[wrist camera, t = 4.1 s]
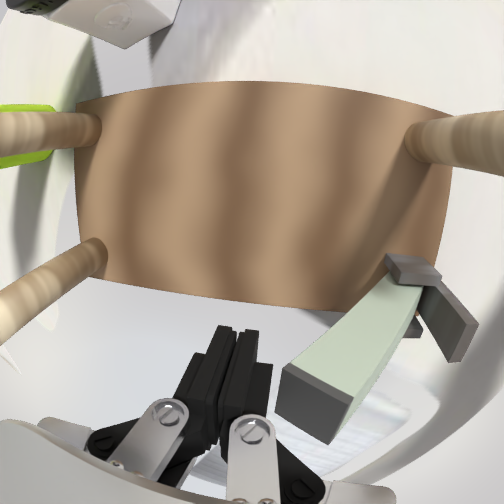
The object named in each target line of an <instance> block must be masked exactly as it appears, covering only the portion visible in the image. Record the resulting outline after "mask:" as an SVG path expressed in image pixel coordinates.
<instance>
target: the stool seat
mask: <svg viewBox="0 0 504 504" xmlns="http://www.w3.org/2000/svg"><path fill="white" fill-rule="evenodd" d="M65 148H74V170H75V190H76V191H75V192H76V205H77V216H78V225H79V233H80V241H81V243H80V244H78V245H77V246H75V247H73V248H71V249H69V250H68V251H66V252H64V253H62V254H60V255H59V256H57V257H55V258H53V259H51V260H50V261H48V262H46V263H44V264H43V265H41V266H39V267H38V268H36V269H34V270H33V271H31V272H29V273H28V274H26V275H24V276H23V277H21V278H19V279H18V280H16V281H15V282H13V283H12V284H10V285H8V286H7V287H5V288H4V289H2V290H1V291H0V346H1V345H2V344H3V343H4V342H6V341H7V340H8V339H9V338H10V337H11V336H13V335H14V334H15V333H16V332H17V331H18V330H20V329H21V328H22V327H23V326H25V325H26V324H27V323H28V322H29V321H31V320H32V319H33V318H34V317H36V316H37V315H38V314H39V313H41V312H42V311H43V310H45V309H46V308H47V307H48V306H50V305H51V304H52V303H54V302H55V301H56V300H57V299H59V298H60V297H61V296H63V295H64V294H65V293H67V292H68V291H70V290H71V289H72V288H74V287H75V286H76V285H78V284H79V283H80V282H82V281H83V280H85V279H86V278H87V277H93V278H97V279H102V280H107V281H112V282H117V283H122V284H128V285H133V286H139V287H145V288H150V289H157V290H162V291H169V292H175V293H182V294H188V295H194V296H202V297H208V298H215V299H223V300H230V301H238V302H246V303H254V304H263V305H272V306H282V307H291V308H301V309H312V310H323V311H336V312H349V311H350V310H351V309H352V308H353V307H354V306H355V305H356V304H357V303H358V302H359V301H360V300H361V299H362V298H363V297H364V296H365V295H366V294H367V293H368V292H369V291H370V290H371V289H372V288H373V287H374V286H375V285H376V284H377V283H378V282H379V281H380V280H381V279H382V278H383V277H384V276H385V275H386V274H387V273H388V272H389V271H390V272H391V273H392V274H393V276H394V277H395V279H396V280H397V282H398V283H400V284H413V285H424V286H423V290H422V293H421V296H420V299H419V302H418V305H417V308H416V311H415V314H414V316H413V318H412V320H411V322H410V324H409V326H408V328H407V330H406V332H405V334H404V335H403V337H402V338H420V337H421V335H422V332H423V328H422V326H421V324H420V323H419V321H418V319H417V318H416V316H419V314H420V316H421V317H422V319H423V321H424V322H425V324H426V325H427V327H428V329H429V330H430V332H431V334H432V335H433V337H434V339H435V340H436V342H437V344H438V346H439V347H440V349H441V351H442V353H443V354H444V356H445V358H446V360H447V362H448V363H452V362H461V360H462V358H463V356H464V354H465V352H466V351H467V349H468V347H469V345H470V343H471V340H472V338H473V336H474V334H475V332H476V330H477V328H478V325H479V323H478V322H477V321H476V320H475V318H474V317H473V316H472V315H471V314H470V313H469V311H468V310H467V309H466V308H465V307H464V306H463V304H462V303H461V302H460V301H459V300H458V299H457V298H456V296H455V295H454V294H453V293H452V292H451V291H450V290H449V289H448V288H447V287H446V285H445V284H444V283H443V282H442V281H441V279H442V275H441V274H440V273H439V272H438V271H437V270H436V269H435V268H434V265H435V261H436V257H437V254H438V249H439V245H440V241H441V237H442V232H443V227H444V222H445V217H446V211H447V206H448V199H449V193H450V185H451V177H452V168H453V166H454V167H460V168H465V169H470V170H476V171H481V172H485V173H490V174H495V175H499V176H503V177H504V110H502V111H492V112H483V113H474V114H467V115H460V116H452V115H449V114H446V113H444V112H441V111H437V110H434V109H431V108H428V107H425V106H421V105H418V104H414V103H410V102H407V101H403V100H399V99H395V98H391V97H386V96H382V95H377V94H372V93H367V92H362V91H356V90H350V89H344V88H337V87H329V86H321V85H312V84H302V83H288V82H268V81H222V82H202V83H189V84H179V85H170V86H162V87H154V88H147V89H141V90H135V91H130V92H125V93H119V94H114V95H110V96H105V97H101V98H97V99H93V100H89V101H85V102H81V103H78V104H76V113H70V112H1V113H0V158H2V157H8V156H13V155H19V154H25V153H32V152H39V151H47V150H55V149H65Z"/></svg>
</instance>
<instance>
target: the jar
mask: <svg viewBox="0 0 504 504" xmlns="http://www.w3.org/2000/svg"><path fill="white" fill-rule="evenodd" d="M180 1H181V0H6V4H7V7H8V8H10V9H13V10H17V11H20V13H24V14H33V15H41V16H42V17H44V18H46V19H47V20H50V21H53V22H56V23H59V24H62V25H65V26H68V27H71V28H74V29H76V30H79V31H82V32H84V33H87V34H89V35H92V36H94V37H97V38H100V39H102V40H104V41H107V42H109V43H111V44H114V45H116V46H118V47H120V48H122V49H127V48H129V47H130V46H132V45H133V44H135V43H137V42H138V41H140V40H142V39H144V38H146V37H147V36H149V35H151V34H153V33H155V32H157V31H159V30H161V29H163V28H165V27H167V26H169V25H171V24H172V23H173V21H174V18H175V15H176V12H177V10H178V7H179V4H180Z"/></svg>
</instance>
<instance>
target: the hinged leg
mask: <svg viewBox="0 0 504 504" xmlns="http://www.w3.org/2000/svg"><path fill="white" fill-rule="evenodd" d="M423 286H424V285H413V284H400V283H398V282H397V280H396V279H395V277H394V276H393V274H392V273H391V272H390V271H389V272H388V273H387V274H386V275H385V276H384V277H383V278H382V279H381V280H380V281H379V282H378V283H377V284H376V285H375V286H374V287H373V288H372V289H371V290H370V291H369V292H368V293H367V294H366V295H365V296H364V297H363V298H362V299H361V300H360V301H359V302H358V303H357V304H356V305H355V306H354V307H353V308H352V309H351V310H350V311H349V312H348V313H346V314H345V315H344V316H343V317H342V318H341V319H340V320H339V321H338V322H337V323H336V324H334V325H333V326H332V327H331V328H330V329H329V330H328V331H327V332H325V333H324V334H323V335H322V336H321V337H320V338H319V339H317V340H316V341H315V342H314V343H313V344H312V345H310V346H309V347H308V348H307V349H306V350H305V351H303V352H302V353H301V354H300V355H298V356H297V357H296V358H295V359H293V360H292V361H291V362H290V363H288V364H287V365H286V366H285V367H283V368H282V374H281V380H280V385H279V390H278V396H277V401H276V407H275V413H276V414H278V415H279V416H281V417H282V418H284V419H285V420H287V421H288V422H290V423H292V424H293V425H295V426H296V427H298V428H300V429H301V430H303V431H304V432H306V433H308V434H309V435H311V436H313V437H314V438H316V439H318V440H320V441H321V442H323V443H325V444H327V445H329V444H330V443H331V441H332V440H333V439H334V438H335V437H336V435H337V434H338V433H339V432H340V430H341V429H342V428H343V427H344V425H345V424H346V423H347V421H348V420H349V419H350V418H351V416H352V415H353V414H354V412H355V411H356V410H357V408H358V407H359V405H360V404H361V403H362V401H363V400H364V398H365V397H366V396H367V394H368V393H369V391H370V390H371V388H372V387H373V385H374V384H375V382H376V381H377V379H378V378H379V376H380V374H381V373H382V371H383V370H384V368H385V367H386V365H387V363H388V362H389V360H390V358H391V357H392V355H393V353H394V351H395V350H396V348H397V346H398V344H399V343H400V341H401V339H402V337H403V335H404V334H405V332H406V330H407V328H408V326H409V324H410V322H411V320H412V318H413V316H414V314H415V311H416V308H417V305H418V302H419V299H420V296H421V293H422V290H423Z"/></svg>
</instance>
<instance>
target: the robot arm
mask: <svg viewBox="0 0 504 504" xmlns="http://www.w3.org/2000/svg"><path fill="white" fill-rule="evenodd" d="M236 338H237V332H236V331H232V327H228V326H221V325H218V327H217V329H216V331H215V334H214V336H213V338H212V340H211V343H210V345H209V347H208V350H207V352H206V354H202V353H195V354H194V355H193V357H192V359H191V361H190V363H189V365H188V367H187V369H186V371H185V373H184V375H183V378H182V379H181V381H180V384H179V385H178V388H177V390H176V392H175V394H174V396H173V398H164V399H159V400H157V401H155V402H154V403H153V404H152V405H150V406H149V408H148V409H147V410H146V411H145V413H144V414H143V415H142V417H141V418H137V419H134V420H130V421H127V422H124V423H120V424H117V425H113V426H110V427H106V428H102V429H99V430H97V431H94V430H92V429H91V428H89V427H85V426H81V425H77V424H73V423H70V422H66V421H63V420H60V419H56V418H52V417H47V418H44V419H42V420H41V421H40V422H39V423H38V425H37V426H36V425H33V424H31V423H27V422H24V421H19V420H12V419H7V420H2V421H0V504H396V495H395V493H394V492H393V491H392V490H391V489H390V488H387V487H383V486H373V485H363V484H355V483H348V482H341V481H335V480H334V481H333V482H330V481H324V480H322V479H321V478H320V477H319V476H318V475H316V474H315V473H314V472H313V471H312V470H310V469H309V468H308V467H307V466H306V465H305V464H303V463H302V462H301V461H300V460H299V459H298V458H297V457H295V456H294V455H293V454H292V453H291V452H290V451H289V450H288V449H287V448H285V447H284V446H283V445H282V444H281V443H280V442H279V441H278V440H277V439H276V434H275V428H274V426H273V424H272V423H271V421H269V420H268V419H267V418H266V413H267V406H268V399H269V392H270V385H271V377H272V370H273V364H267V363H259V362H256V359H257V349H258V338H259V331H257V330H249V329H245V332H240V333H239V336H238V339H237V342H236ZM218 439H219V440H220V446H221V457H222V458H223V460H224V461H225V462H226V463H227V464H228V467H227V486H226V500H223V499H218V498H213V497H208V496H204V495H199V494H195V493H191V492H187V491H183V490H180V488H181V486H182V484H183V483H184V481H185V479H186V477H187V476H188V474H189V472H190V471H191V469H192V467H193V465H194V463H195V461H196V459H197V456H199V455H202V454H204V453H205V450H209V451H210V448H211V445H212V444H213V445H217V442H218Z"/></svg>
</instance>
